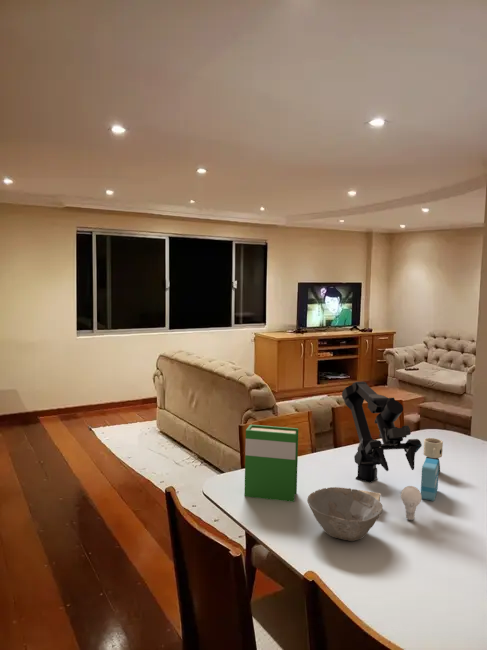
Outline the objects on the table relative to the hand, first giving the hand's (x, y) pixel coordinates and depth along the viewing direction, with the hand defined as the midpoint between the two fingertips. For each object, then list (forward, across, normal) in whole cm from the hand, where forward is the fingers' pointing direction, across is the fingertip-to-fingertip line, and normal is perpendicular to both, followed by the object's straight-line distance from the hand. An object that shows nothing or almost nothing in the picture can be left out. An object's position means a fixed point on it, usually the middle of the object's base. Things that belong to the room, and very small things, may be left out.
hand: (400, 470), depth 173 cm
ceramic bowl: (+20, -25, 0) cm, 32 cm away
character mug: (-12, +30, +31) cm, 45 cm away
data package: (+3, +16, +16) cm, 24 cm away
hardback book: (-2, -41, +22) cm, 46 cm away
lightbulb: (+15, 0, +4) cm, 16 cm away
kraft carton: (+8, -10, +11) cm, 17 cm away
